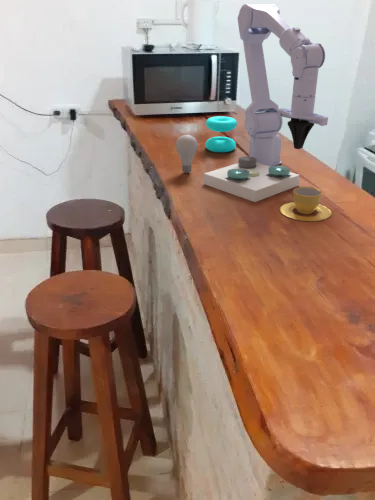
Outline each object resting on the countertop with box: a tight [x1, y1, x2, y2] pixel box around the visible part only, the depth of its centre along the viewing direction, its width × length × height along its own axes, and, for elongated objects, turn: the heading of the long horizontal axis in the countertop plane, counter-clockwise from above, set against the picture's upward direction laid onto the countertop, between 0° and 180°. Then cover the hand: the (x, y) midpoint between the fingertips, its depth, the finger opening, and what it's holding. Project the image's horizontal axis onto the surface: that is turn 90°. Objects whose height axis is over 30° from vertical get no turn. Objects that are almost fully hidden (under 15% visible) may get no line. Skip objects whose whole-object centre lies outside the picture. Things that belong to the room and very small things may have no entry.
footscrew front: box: [227, 169, 249, 183], centre depth 133 cm, size 6×6×5 cm
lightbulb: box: [175, 134, 199, 174], centre depth 143 cm, size 6×6×11 cm
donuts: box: [205, 115, 238, 153], centre depth 166 cm, size 10×10×10 cm
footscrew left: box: [268, 165, 291, 180], centre depth 135 cm, size 6×6×5 cm
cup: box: [279, 186, 332, 222], centre depth 120 cm, size 12×12×5 cm
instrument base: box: [203, 155, 300, 203], centre depth 136 cm, size 18×18×5 cm
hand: (298, 148), depth 135 cm, fingers closed
